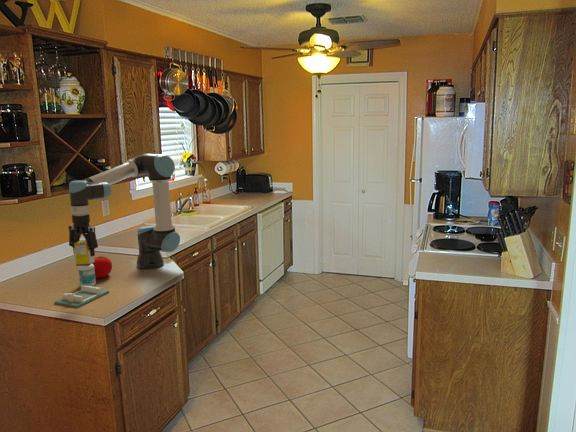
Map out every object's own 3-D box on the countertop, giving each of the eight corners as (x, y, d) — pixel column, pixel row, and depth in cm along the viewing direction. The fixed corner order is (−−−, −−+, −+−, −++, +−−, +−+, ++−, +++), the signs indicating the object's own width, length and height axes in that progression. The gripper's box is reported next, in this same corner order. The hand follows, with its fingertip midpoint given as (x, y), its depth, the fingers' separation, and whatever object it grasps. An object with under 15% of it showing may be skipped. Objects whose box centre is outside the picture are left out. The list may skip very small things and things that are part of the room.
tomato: (81, 278, 250) (79, 258, 248) (102, 271, 262) (100, 251, 260) (98, 282, 245) (96, 261, 242) (118, 274, 257) (116, 254, 254)
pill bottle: (80, 284, 242) (77, 259, 239) (95, 282, 245) (93, 257, 242) (80, 288, 235) (77, 263, 232) (95, 286, 238) (93, 261, 235)
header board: (86, 288, 235) (86, 280, 234) (109, 292, 230) (108, 283, 229) (54, 303, 217) (53, 294, 216) (77, 307, 212) (76, 298, 211)
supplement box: (93, 262, 224) (91, 239, 222) (89, 265, 218) (87, 243, 216) (81, 262, 224) (79, 240, 222) (76, 266, 218) (73, 243, 216)
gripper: (57, 214, 216) (61, 261, 221) (92, 217, 209) (96, 266, 214) (69, 211, 223) (74, 257, 228) (104, 214, 216) (107, 261, 221)
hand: (84, 261), depth 221 cm, fingers closed on supplement box, 7 cm apart
